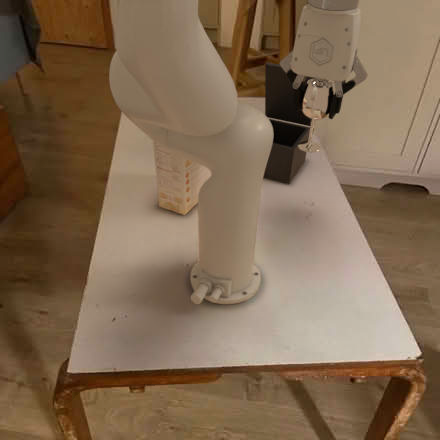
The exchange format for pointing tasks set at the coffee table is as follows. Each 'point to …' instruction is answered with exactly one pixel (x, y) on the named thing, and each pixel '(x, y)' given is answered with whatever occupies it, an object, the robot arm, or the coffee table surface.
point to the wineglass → (315, 107)
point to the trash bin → (286, 151)
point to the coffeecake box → (178, 180)
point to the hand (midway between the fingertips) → (315, 111)
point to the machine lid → (281, 96)
